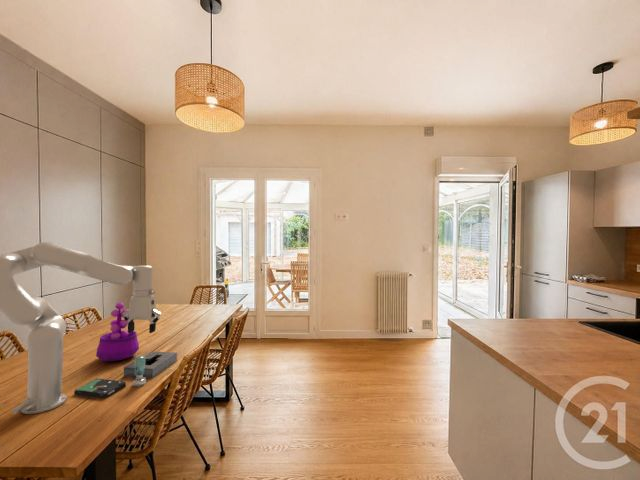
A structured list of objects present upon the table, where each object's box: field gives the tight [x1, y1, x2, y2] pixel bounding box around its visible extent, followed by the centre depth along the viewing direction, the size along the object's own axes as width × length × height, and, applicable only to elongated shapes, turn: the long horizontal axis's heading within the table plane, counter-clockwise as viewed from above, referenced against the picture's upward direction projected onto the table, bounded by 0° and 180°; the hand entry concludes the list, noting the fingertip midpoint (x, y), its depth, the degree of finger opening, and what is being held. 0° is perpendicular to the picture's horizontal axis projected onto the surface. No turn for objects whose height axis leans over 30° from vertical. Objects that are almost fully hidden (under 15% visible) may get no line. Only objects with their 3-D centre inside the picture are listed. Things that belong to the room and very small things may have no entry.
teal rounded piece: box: [132, 355, 147, 388], centre depth 127 cm, size 5×5×12 cm
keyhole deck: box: [123, 350, 178, 379], centre depth 143 cm, size 20×14×4 cm
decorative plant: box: [95, 301, 140, 362], centre depth 154 cm, size 19×18×30 cm
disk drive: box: [73, 378, 127, 400], centre depth 120 cm, size 10×3×15 cm
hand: (141, 331), depth 127 cm, fingers open, 9 cm apart
